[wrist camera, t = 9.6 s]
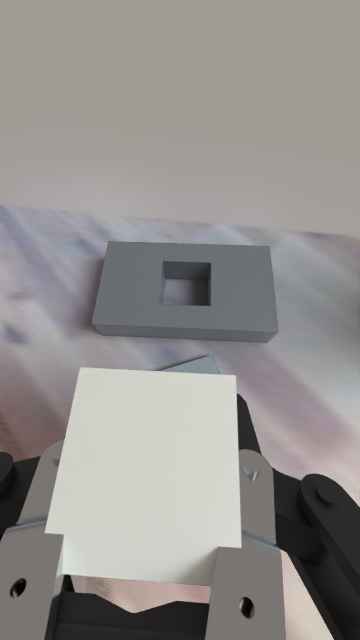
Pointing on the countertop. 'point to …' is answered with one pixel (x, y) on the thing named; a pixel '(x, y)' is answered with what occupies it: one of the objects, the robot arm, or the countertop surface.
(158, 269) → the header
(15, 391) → the countertop surface
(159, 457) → the tall cream white pillar
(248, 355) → the countertop surface
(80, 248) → the countertop surface
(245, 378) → the countertop surface
